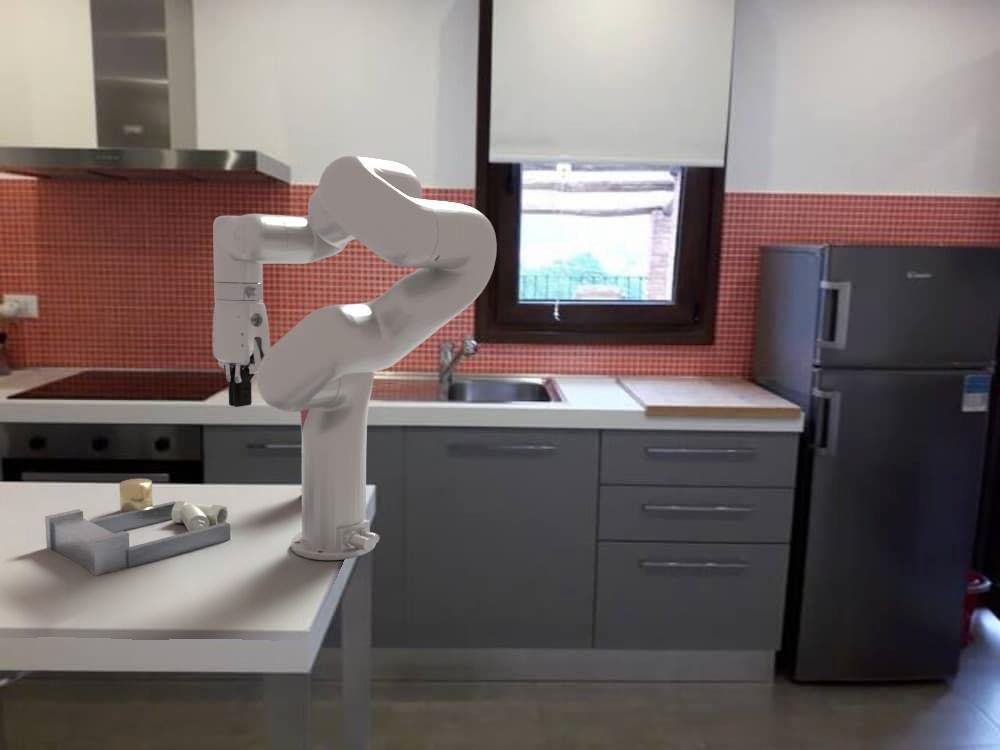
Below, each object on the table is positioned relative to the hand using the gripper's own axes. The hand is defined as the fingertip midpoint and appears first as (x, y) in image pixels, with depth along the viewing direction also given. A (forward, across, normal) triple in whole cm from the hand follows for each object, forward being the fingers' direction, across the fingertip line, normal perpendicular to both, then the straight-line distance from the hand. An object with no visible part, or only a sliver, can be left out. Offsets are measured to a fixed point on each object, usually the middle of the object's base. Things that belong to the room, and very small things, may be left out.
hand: (240, 405), depth 134 cm
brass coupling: (+19, +15, +10) cm, 26 cm away
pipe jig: (+19, 0, +18) cm, 26 cm away
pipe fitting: (+20, +1, +8) cm, 21 cm away
